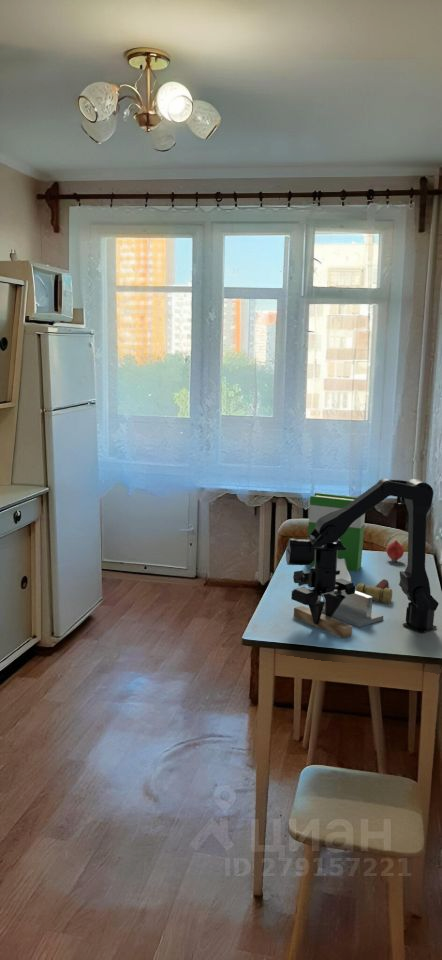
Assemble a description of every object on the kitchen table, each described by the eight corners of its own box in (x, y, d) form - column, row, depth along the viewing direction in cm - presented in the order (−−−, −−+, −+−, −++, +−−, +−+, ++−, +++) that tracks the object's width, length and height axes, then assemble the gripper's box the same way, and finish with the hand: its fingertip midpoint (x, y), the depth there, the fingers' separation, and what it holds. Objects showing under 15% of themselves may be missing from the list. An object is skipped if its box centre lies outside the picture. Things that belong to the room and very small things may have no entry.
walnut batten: (351, 637, 182) (352, 626, 182) (343, 639, 180) (344, 628, 180) (301, 615, 196) (301, 605, 195) (293, 618, 194) (294, 607, 194)
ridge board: (383, 619, 195) (383, 615, 194) (358, 627, 188) (359, 622, 188) (334, 600, 208) (334, 597, 208) (310, 607, 202) (310, 603, 202)
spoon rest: (347, 598, 212) (349, 575, 211) (308, 593, 216) (310, 570, 214) (356, 576, 235) (358, 555, 233) (321, 572, 238) (322, 551, 237)
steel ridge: (371, 617, 193) (372, 596, 192) (366, 618, 191) (367, 598, 191) (327, 600, 205) (328, 581, 204) (322, 601, 204) (324, 582, 203)
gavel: (371, 571, 230) (403, 576, 226) (370, 585, 230) (401, 591, 226) (356, 584, 211) (390, 590, 207) (354, 600, 211) (388, 606, 207)
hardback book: (306, 564, 245) (310, 496, 241) (311, 559, 252) (315, 492, 248) (356, 571, 239) (362, 501, 235) (361, 566, 246) (366, 498, 242)
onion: (382, 559, 256) (384, 537, 254) (397, 558, 257) (398, 537, 256) (391, 564, 250) (393, 542, 249) (405, 563, 252) (407, 541, 251)
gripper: (327, 553, 197) (323, 607, 200) (278, 562, 186) (275, 619, 188) (358, 563, 189) (354, 619, 191) (308, 573, 177) (305, 633, 180)
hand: (321, 622), depth 188 cm, fingers open, 4 cm apart
